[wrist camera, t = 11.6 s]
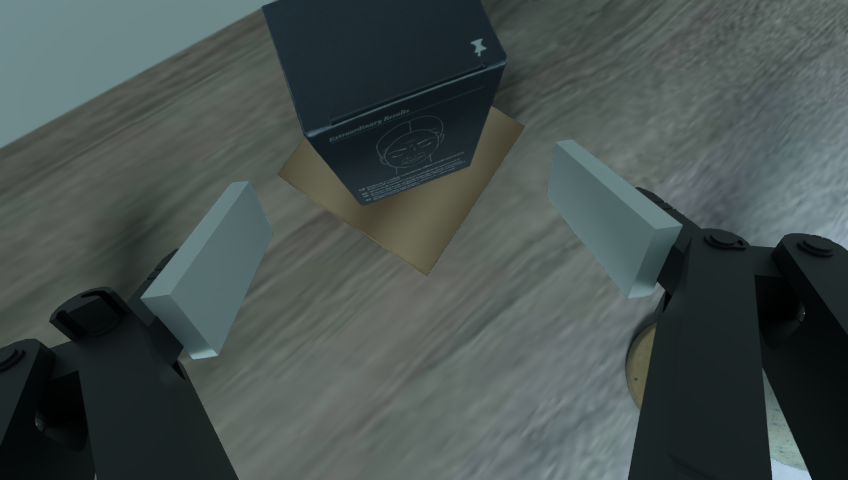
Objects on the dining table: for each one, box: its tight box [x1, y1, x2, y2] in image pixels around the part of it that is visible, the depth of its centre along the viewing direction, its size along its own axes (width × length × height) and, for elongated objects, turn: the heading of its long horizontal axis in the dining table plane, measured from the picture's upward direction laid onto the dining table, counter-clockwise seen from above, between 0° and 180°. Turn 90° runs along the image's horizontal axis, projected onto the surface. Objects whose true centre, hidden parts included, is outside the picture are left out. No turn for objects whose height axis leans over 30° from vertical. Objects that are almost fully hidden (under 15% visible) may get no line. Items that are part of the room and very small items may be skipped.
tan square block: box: [278, 106, 525, 276], centre depth 25 cm, size 12×12×6 cm
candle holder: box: [626, 322, 808, 472], centre depth 16 cm, size 9×9×20 cm
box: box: [261, 0, 507, 206], centre depth 17 cm, size 8×6×11 cm
